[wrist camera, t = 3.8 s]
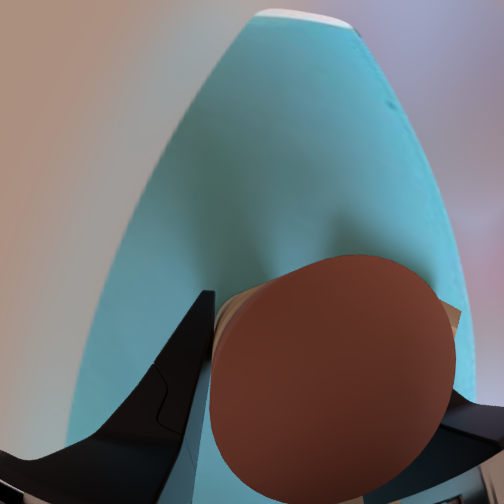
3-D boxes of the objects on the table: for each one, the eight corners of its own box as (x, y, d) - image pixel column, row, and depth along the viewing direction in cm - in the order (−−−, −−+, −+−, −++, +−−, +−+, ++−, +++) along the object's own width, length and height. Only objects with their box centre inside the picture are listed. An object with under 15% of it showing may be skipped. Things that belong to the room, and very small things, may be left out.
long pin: (268, 371, 16) (391, 507, 3) (203, 345, 16) (167, 473, 3) (294, 308, 17) (478, 308, 4) (231, 280, 16) (282, 206, 4)
